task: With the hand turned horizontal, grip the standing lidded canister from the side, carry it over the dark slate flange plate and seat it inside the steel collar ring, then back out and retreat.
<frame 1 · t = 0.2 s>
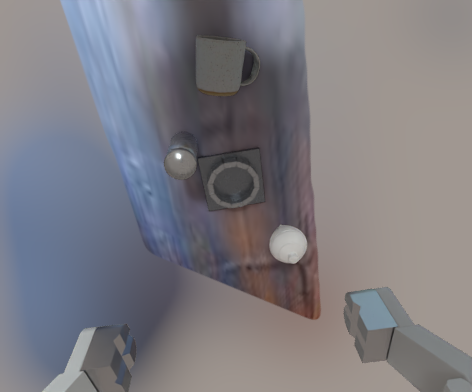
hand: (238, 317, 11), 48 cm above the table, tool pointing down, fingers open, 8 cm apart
lidded canister: (184, 144, 57), on the table
duct flange: (232, 180, 62), on the table
spinning top: (280, 224, 68), on the table
ceramic mug: (226, 61, 51), on the table
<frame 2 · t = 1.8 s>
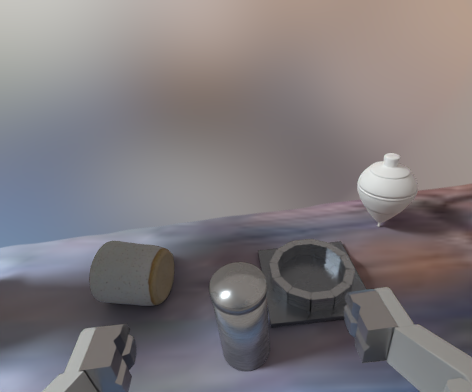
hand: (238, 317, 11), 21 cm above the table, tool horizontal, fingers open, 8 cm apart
lidded canister: (246, 347, 32), on the table
duct flange: (310, 280, 39), on the table
spinning top: (378, 227, 47), on the table
ceramic mug: (145, 286, 41), on the table
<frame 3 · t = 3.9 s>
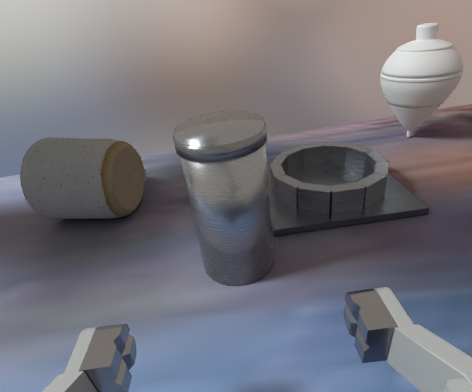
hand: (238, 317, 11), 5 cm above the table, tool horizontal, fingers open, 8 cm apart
lidded canister: (239, 259, 22), on the table
duct flange: (326, 188, 29), on the table
spinning top: (407, 138, 37), on the table
ceramic mug: (108, 206, 31), on the table
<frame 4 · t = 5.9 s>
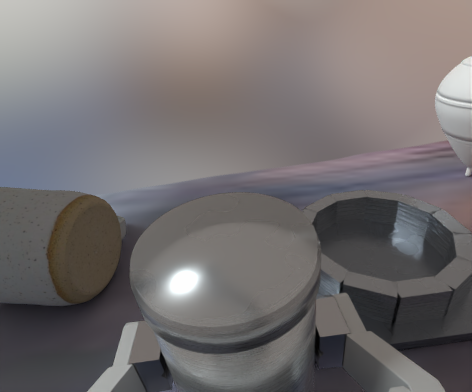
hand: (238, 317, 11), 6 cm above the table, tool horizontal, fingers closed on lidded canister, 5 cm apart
duct flange: (373, 262, 20), on the table
spinning top: (466, 177, 28), on the table
ceramic mug: (73, 272, 23), on the table
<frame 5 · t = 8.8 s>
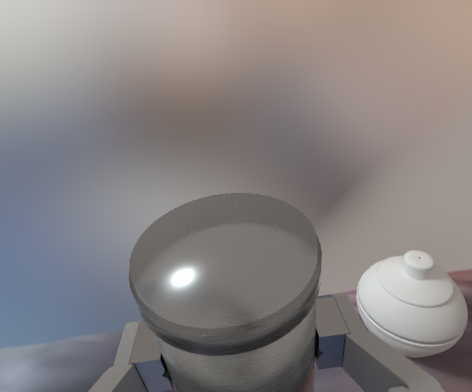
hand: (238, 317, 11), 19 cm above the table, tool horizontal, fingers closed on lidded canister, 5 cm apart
spinning top: (393, 356, 28), on the table
when the fingers open (8 cm above the table, at t = 11.7 s): lidded canister drops 2 cm, resting on duct flange.
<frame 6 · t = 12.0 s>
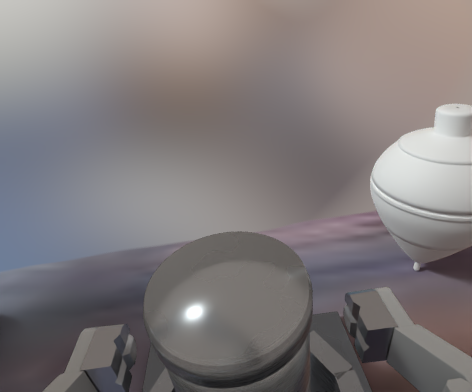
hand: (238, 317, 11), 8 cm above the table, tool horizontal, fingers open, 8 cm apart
spinning top: (415, 271, 23), on the table
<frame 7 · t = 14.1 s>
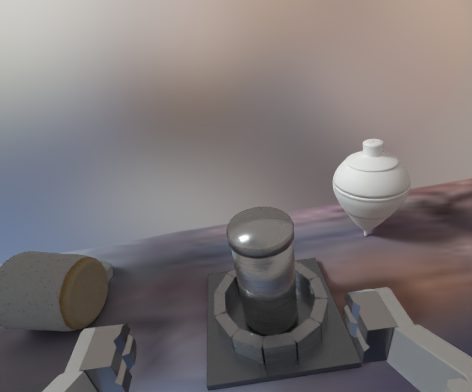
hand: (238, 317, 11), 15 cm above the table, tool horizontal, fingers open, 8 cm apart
lidded canister: (270, 310, 28), point 1 cm above the table, touching duct flange
duct flange: (271, 314, 29), on the table
spinning top: (365, 237, 37), on the table
ceramic mug: (76, 305, 34), on the table
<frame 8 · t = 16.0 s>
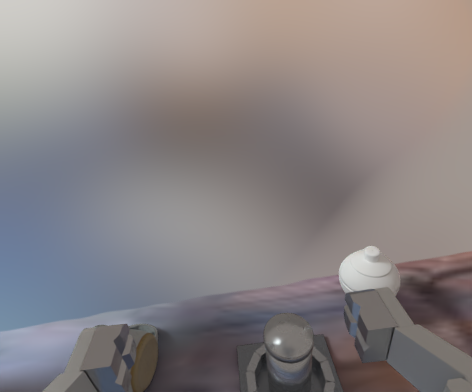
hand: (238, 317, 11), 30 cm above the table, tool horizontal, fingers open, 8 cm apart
lidded canister: (289, 385, 37), point 1 cm above the table, touching duct flange
duct flange: (289, 388, 37), on the table
spinning top: (363, 313, 45), on the table
ceramic mug: (130, 366, 42), on the table
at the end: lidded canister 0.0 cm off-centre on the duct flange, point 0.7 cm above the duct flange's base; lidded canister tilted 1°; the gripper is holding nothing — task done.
